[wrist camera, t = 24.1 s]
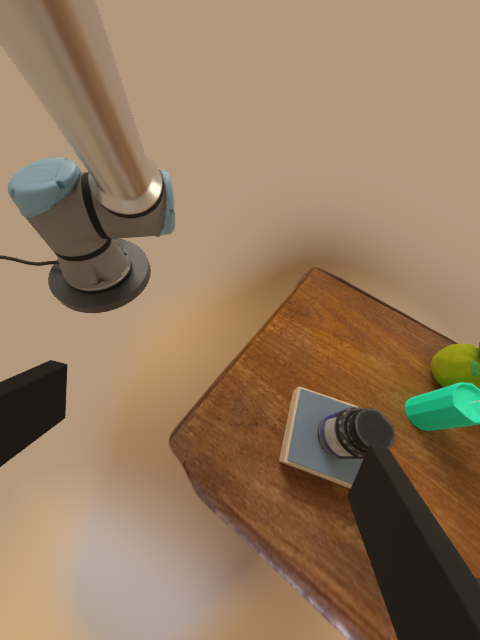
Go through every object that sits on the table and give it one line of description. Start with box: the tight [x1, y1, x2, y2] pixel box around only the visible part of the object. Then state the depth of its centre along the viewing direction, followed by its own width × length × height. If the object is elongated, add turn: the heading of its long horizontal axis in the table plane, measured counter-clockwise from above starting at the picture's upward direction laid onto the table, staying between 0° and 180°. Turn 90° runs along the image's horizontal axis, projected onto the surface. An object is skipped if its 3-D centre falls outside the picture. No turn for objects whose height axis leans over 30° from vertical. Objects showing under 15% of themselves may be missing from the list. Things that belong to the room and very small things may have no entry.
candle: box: [405, 382, 480, 431], centre depth 38 cm, size 6×6×12 cm
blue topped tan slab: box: [279, 386, 363, 489], centre depth 38 cm, size 14×12×4 cm
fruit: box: [430, 343, 480, 389], centre depth 43 cm, size 9×9×10 cm
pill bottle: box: [318, 407, 395, 459], centre depth 32 cm, size 6×6×11 cm
